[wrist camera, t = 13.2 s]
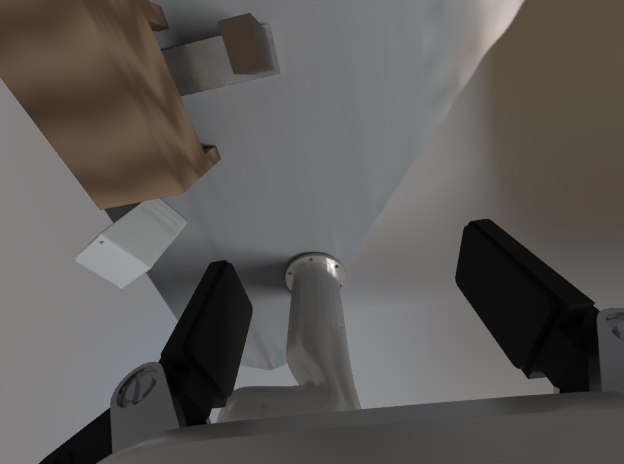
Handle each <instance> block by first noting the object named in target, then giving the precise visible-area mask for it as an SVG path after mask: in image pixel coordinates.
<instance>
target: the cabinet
mask: <svg viewBox="0 0 624 464" xmlns="http://www.w3.org/2000/svg"><path fill="white" fill-rule="evenodd" d="M168 28H169V26H168V24H167V21H166V19H165V16H164V14H163V11H162V9H161V6H159V5H157V4H155V3H152V2H150V1H148V0H0V77H1V79H2V80H3V81H4V83H5V84H6V85H7V87H8V88H9V89H10V91H11V92H12V93H13V95H14V96H15V97H16V99H17V100H18V101H19V103H20V104H21V105H22V107H23V108H24V109H25V111H26V112H27V113H28V115H29V116H30V117H31V119H32V120H33V121H34V123H35V124H36V125H37V127H38V128H39V129H40V131H41V132H42V133H43V135H44V136H45V137H46V139H47V140H48V141H49V143H50V144H51V145H52V147H53V148H54V149H55V151H56V152H57V153H58V155H59V156H60V157H61V159H62V160H63V161H64V163H65V164H66V165H67V167H68V168H69V169H70V171H71V172H72V173H73V174H74V176H75V177H76V178H77V180H78V181H79V183H80V184H81V185H82V186H83V188H84V189H85V190H86V192H87V193H88V194H89V196H90V197H91V198H92V200H93V201H94V202H95V204H96V205H97V206H98V207H99V209H100V210H102V209H107V208H112V207H117V206H123V205H128V204H133V203H138V202H144V201H149V200H154V199H159V198H164V197H170V196H175V195H180V194H183V193H184V192H185V191H186V190H187V189H188V188H189V187H190V186H192V185H193V184H194V183H195V182H196V181H197V180H198V179H199V178H200V177H202V176H203V175H204V174H205V173H206V172H207V171H208V170H209V169H210V168H211V167H213V166H214V165H215V164H216V163H217V162H218V161H219V160H220V159H221V158H220V155H219V152H218V150H217V147H216V146H213V147H208V148H202V146H201V144H200V141H199V139H198V137H197V134H196V132H195V130H194V127H193V125H192V123H191V120H190V118H189V115H188V113H187V111H186V108H185V106H184V104H183V101H182V99H181V97H180V94H179V92H178V90H177V87H176V85H175V83H174V80H173V78H172V76H171V73H170V71H169V69H168V66H167V64H166V62H165V59H164V57H163V55H162V52H161V50H160V48H159V45H158V43H157V41H156V38H155V36H154V34H153V31H152V30H155V31H161V30H165V29H168Z"/></svg>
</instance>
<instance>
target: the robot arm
mask: <svg viewBox="0 0 624 464" xmlns="http://www.w3.org/2000/svg"><path fill="white" fill-rule="evenodd" d="M455 279H456V283H457V286H458V287H459V289H460V290H461V291H462V293H463V294H464V296H465V297H466V299H467V300H468V301H469V303H470V304H471V306H472V307H473V309H474V310H475V311H476V313H477V314H478V316H479V317H480V318H481V320H482V321H483V323H484V324H485V326H486V327H487V328H488V330H489V331H490V333H491V334H492V336H493V337H494V338H495V340H496V341H497V343H498V344H499V346H500V347H501V348H502V350H503V351H504V353H505V354H506V356H507V357H508V358H509V360H510V361H511V363H512V364H513V365H514V366H515V367H516V368H518V369H521V370H522V371H523V373H524V374H525V375H526V377H527V378H528V379H533V378H543V377H547V378H548V379H549V380H550V382H551V383H552V385H553V386H554V387H553V394H543V395H528V396H515V397H501V398H489V399H477V400H466V401H453V402H441V403H429V404H417V405H405V406H394V407H382V408H371V409H361V406H360V402H359V399H358V395H357V392H356V388H355V384H354V380H353V375H352V370H351V364H350V358H349V351H348V344H347V337H346V330H345V322H344V315H343V307H342V301H341V293H340V290H341V289H342V288H343V286H344V284H345V281H346V274H345V270H344V267H343V265H342V264H341V263H340V262H339V261H338V260H337V259H335V258H334V257H332V256H329V255H327V254H322V253H310V254H305V255H302V256H300V257H298V258H296V259H295V260H293V261H292V262H291V263H290V264H289V266H288V268H287V270H286V275H285V281H286V284H287V286H288V288H289V290H290V291H291V303H290V314H289V325H288V336H287V346H286V357H287V362H288V366H289V368H290V370H291V372H292V374H293V376H294V377H295V379H296V381H297V382H298V384H299V386H249V387H242V388H239V389H236V390H234V391H233V389H234V385H235V381H236V377H237V373H238V369H239V365H240V361H241V357H242V353H243V349H244V345H245V341H246V337H247V333H248V329H249V325H250V321H251V317H252V313H253V308H252V304H251V302H250V300H249V298H248V296H247V294H246V292H245V290H244V288H243V286H242V284H241V282H240V280H239V278H238V276H237V273H236V271H235V269H234V267H233V265H232V264H231V263H228V262H227V261H226V260H223V261H216V262H212V263H210V264H209V266H208V268H207V270H206V272H205V274H204V275H203V277H202V279H201V281H200V283H199V285H198V287H197V288H196V290H195V292H194V294H193V296H192V298H191V299H190V301H189V303H188V305H187V307H186V309H185V310H184V312H183V314H182V316H181V318H180V320H179V321H178V323H177V325H176V327H175V329H174V331H173V332H172V335H171V336H170V338H169V340H168V342H167V344H166V345H165V347H164V349H163V351H162V353H161V359H160V360H159V362H158V363H157V362H149V363H145V364H143V365H141V366H139V367H137V368H135V369H134V370H133V371H132V372H130V373H129V374H128V375H127V376H126V377H125V378H124V379H123V380H122V381H121V382H120V384H119V385H118V386H117V388H116V389H115V391H114V393H113V395H112V398H111V403H110V408H109V409H107V410H106V411H105V412H104V413H102V414H101V415H100V416H99V417H97V418H96V419H95V420H93V421H92V422H91V423H89V424H88V425H87V426H86V427H84V428H83V429H82V430H80V431H79V432H78V433H77V434H75V435H74V436H73V437H71V438H70V439H69V440H67V441H66V442H65V443H64V444H62V445H61V446H60V447H59V448H57V449H56V450H55V451H53V452H52V453H51V454H49V455H48V456H47V457H46V458H45V459H43V460H42V461H41V462H40V463H39V464H624V308H609V309H604V310H602V311H601V312H600V311H599V310H598V309H597V308H595V307H594V306H593V305H594V303H595V302H593V301H592V300H591V299H589V298H588V297H587V296H586V295H584V294H583V293H582V292H580V291H579V290H578V289H577V288H576V287H574V286H573V285H572V284H571V283H569V282H568V281H567V280H566V279H564V278H563V277H562V276H561V275H559V274H558V273H557V272H555V271H554V270H553V269H552V268H550V267H549V266H548V265H547V264H545V263H544V262H543V261H541V260H540V259H539V258H538V257H536V256H535V255H534V254H533V253H532V252H530V251H529V250H528V249H526V248H525V247H524V246H523V245H521V244H520V243H519V242H518V241H516V240H515V239H514V238H512V237H511V236H510V235H509V234H508V233H506V232H505V231H504V230H503V229H501V228H500V227H499V226H498V225H496V224H495V223H494V222H492V221H491V220H490V219H482V220H475V221H471V222H469V223H468V226H465V227H464V230H463V235H462V241H461V247H460V253H459V259H458V264H457V270H456V276H455ZM212 408H221V409H220V412H219V416H218V419H217V423H214V424H211V421H210V419H209V416H210V412H211V409H212Z"/></svg>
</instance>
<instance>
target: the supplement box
mask: <svg viewBox="0 0 624 464" xmlns="http://www.w3.org/2000/svg"><path fill="white" fill-rule="evenodd" d="M186 224H187V221H186V220H185V219H184V218H182V217H181V216H180V215H179V214H178V213H176V212H175V211H174V210H173V209H172V208H171V207H169V206H168V205H167V204H166V203H165V202H163V201H162V200H161V199H160V198H159V199H154V200H149V201H144V202H141V203H140V204H139V205H137V206H136V207H135V208H133V209H132V210H131V211H129V212H128V213H127V214H125V215H124V216H123V217H121V218H120V219H118V220H117V221H116V222H114V223H113V224H112V225H111V226H109V227H108V228H106V229H105V230H104V231H102V232H101V233H100V234H99V235H98V236H97V237H96V238H95V239H94V240H93V241H92V242H91V243H90V244H89V245H88V246H87V247H86V248H85V249H84V250H83V251H82V252H81V253H80V254H79V255H78V256H77V257H76V258H75V259H74V261H75V262H77V263H79V264H80V265H82V266H84V267H86V268H87V269H89V270H91V271H92V272H94V273H96V274H97V275H99V276H100V277H102V278H104V279H106V280H107V281H109V282H110V283H112V284H114V285H115V286H117V287H119V288H120V289H123V288H124V287H125V286H127V285H128V284H130V283H131V282H132V281H134V280H135V279H137V278H138V277H140V276H141V275H142V274H144V273H145V272H147V271H148V270H150V269H151V268H152V266H153V265H154V263H155V262H156V261H157V260H158V258H159V257H160V256H161V255H162V253H163V252H164V251H165V250H166V249H167V247H168V246H169V245H170V244H171V243H172V241H173V240H174V239H175V238H176V236H177V235H178V234H179V233H180V231H181V230H182V229H183V228H184V226H185V225H186Z"/></svg>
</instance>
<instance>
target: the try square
mask: <svg viewBox="0 0 624 464" xmlns="http://www.w3.org/2000/svg"><path fill="white" fill-rule="evenodd" d="M218 25H219V28H220V31H221V36H217V37H213V38H209V39H205V40H201V41H197V42H193V43H189V44H185V45H181V46H177V47H173V48H169V49H165V50H161V52H162V55H163V57H164V59H165V62H166V64H167V66H168V69H169V71H170V73H171V76H172V78H173V80H174V83H175V85H176V87H177V90H178V92H179V94H180V96H184V95H189V94H193V93H197V92H202V91H206V90H211V89H215V88H219V87H224V86H228V85H232V84H237V83H241V82H245V81H250V80H254V79H258V78H263V77H267V76H272V75H276V74H280V68H279V64H278V59H277V55H276V50H275V45H274V41H273V36H272V31H271V27H270V24H269V23H268V24H264V25H261V24H260V23H259V22H258V21H257V20H256V19H255V18H254V17H253V16H252V15H251V14H250V13H248V14H244V15H240V16H236V17H232V18H228V19H225V20H221V21H218Z"/></svg>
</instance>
